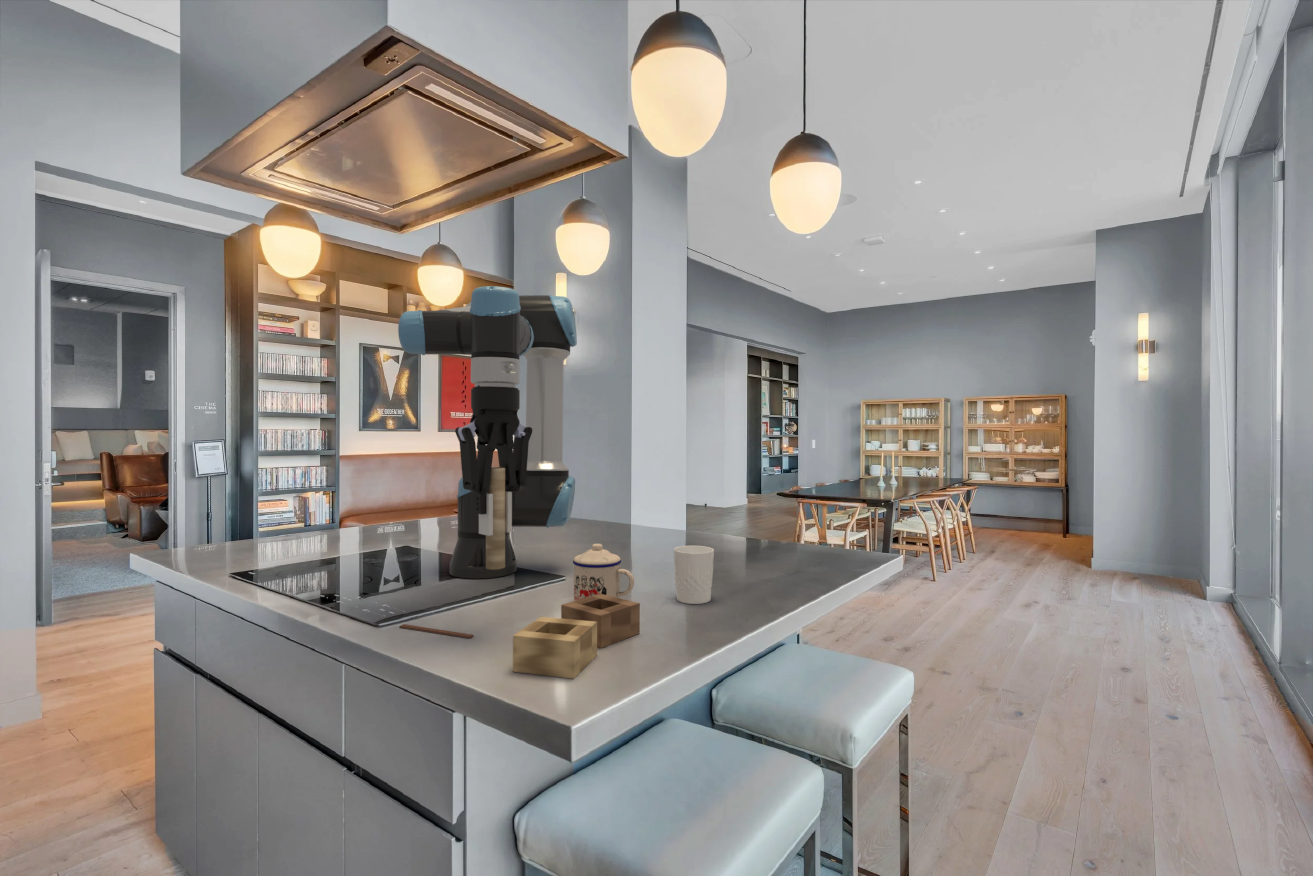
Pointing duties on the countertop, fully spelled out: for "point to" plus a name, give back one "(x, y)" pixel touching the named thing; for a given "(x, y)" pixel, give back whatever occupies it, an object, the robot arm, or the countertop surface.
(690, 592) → the white cup
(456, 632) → the brown wooden stick
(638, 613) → the bead dark
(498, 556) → the beige wooden dowel
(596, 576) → the teacup with lid
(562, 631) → the light wooden square frame
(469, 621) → the countertop surface
